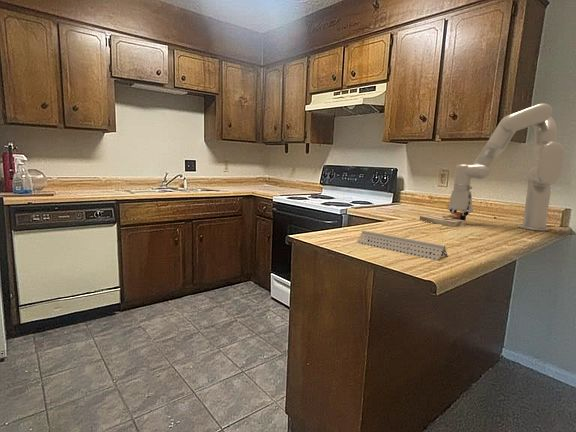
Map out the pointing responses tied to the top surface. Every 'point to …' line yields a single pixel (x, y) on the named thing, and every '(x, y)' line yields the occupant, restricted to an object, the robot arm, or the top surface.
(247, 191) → the top surface
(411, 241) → the corner bead
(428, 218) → the board
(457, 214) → the gauge
